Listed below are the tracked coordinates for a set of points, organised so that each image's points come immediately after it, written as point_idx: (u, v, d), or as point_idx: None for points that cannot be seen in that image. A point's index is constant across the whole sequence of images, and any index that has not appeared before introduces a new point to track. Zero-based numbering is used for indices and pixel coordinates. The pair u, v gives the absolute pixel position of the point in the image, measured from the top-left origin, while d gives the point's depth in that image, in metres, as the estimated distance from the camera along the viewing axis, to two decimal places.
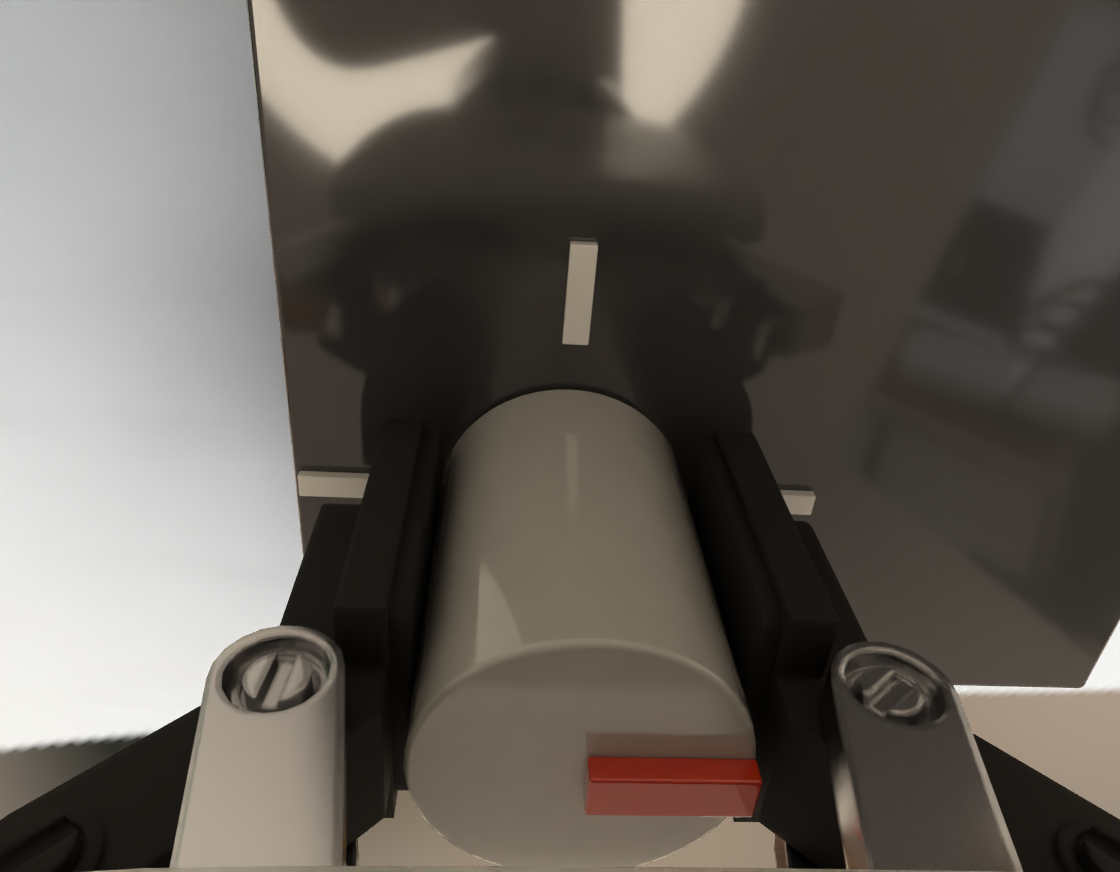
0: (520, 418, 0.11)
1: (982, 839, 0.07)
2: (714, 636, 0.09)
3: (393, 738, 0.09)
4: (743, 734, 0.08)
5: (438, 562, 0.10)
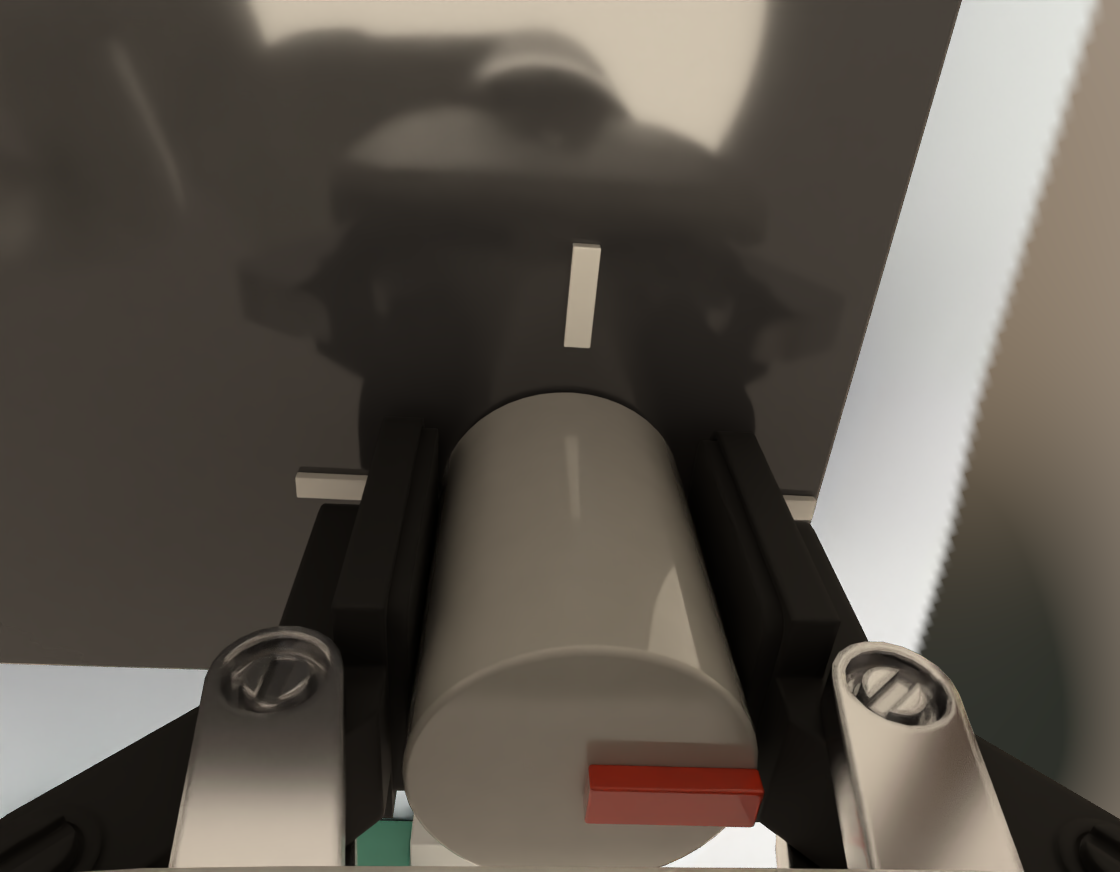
0: (522, 421, 0.11)
1: (983, 839, 0.07)
2: (717, 644, 0.09)
3: (392, 738, 0.09)
4: (745, 743, 0.08)
5: (438, 565, 0.10)
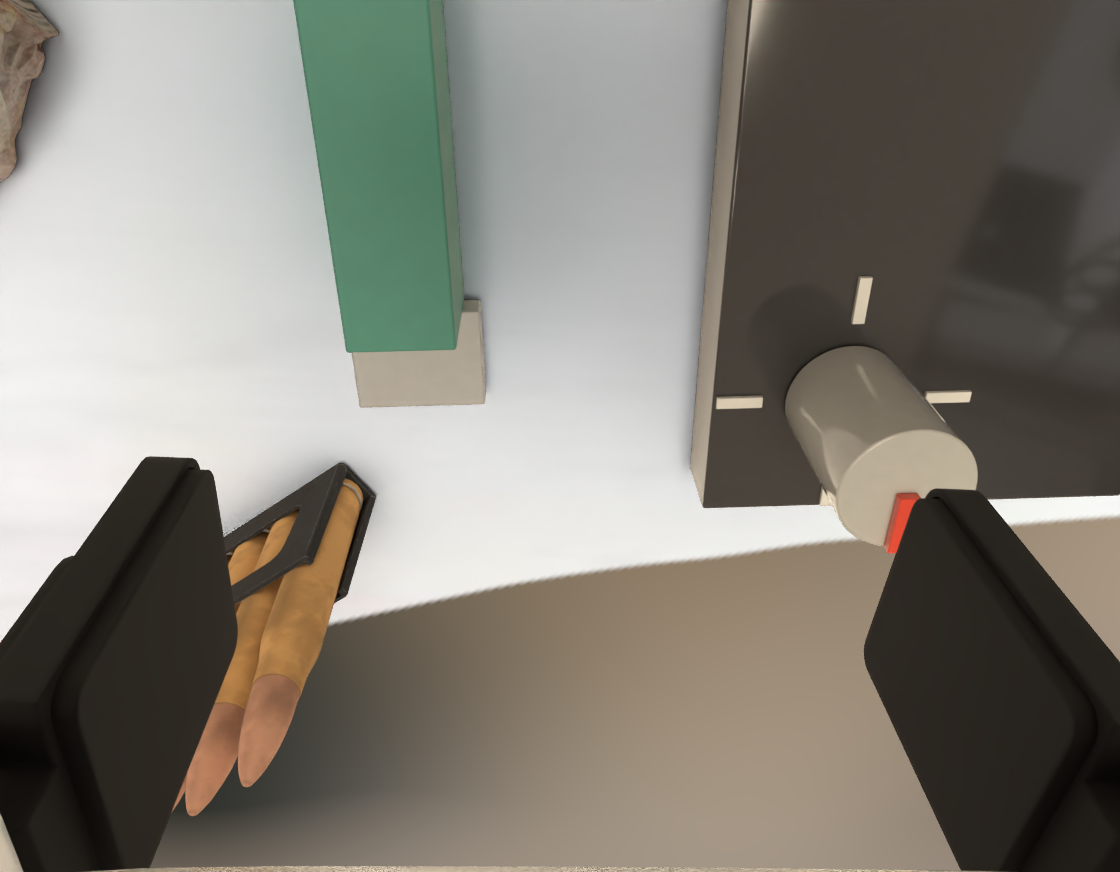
0: None
1: None
2: None
3: (93, 839, 0.08)
4: None
5: (913, 391, 0.23)
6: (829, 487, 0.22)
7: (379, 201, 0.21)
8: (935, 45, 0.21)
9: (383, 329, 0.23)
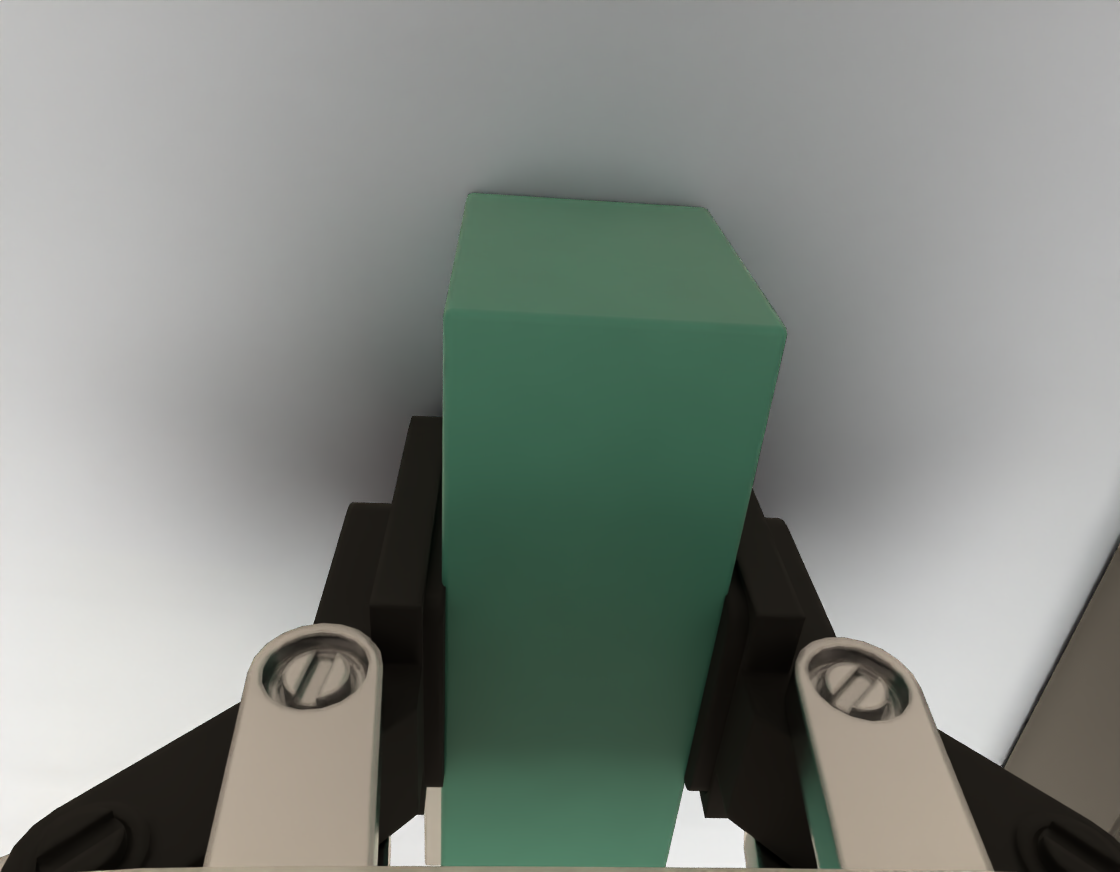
0: None
1: (949, 832, 0.07)
2: None
3: (425, 735, 0.09)
4: None
5: None
6: None
7: (562, 715, 0.10)
8: None
9: None
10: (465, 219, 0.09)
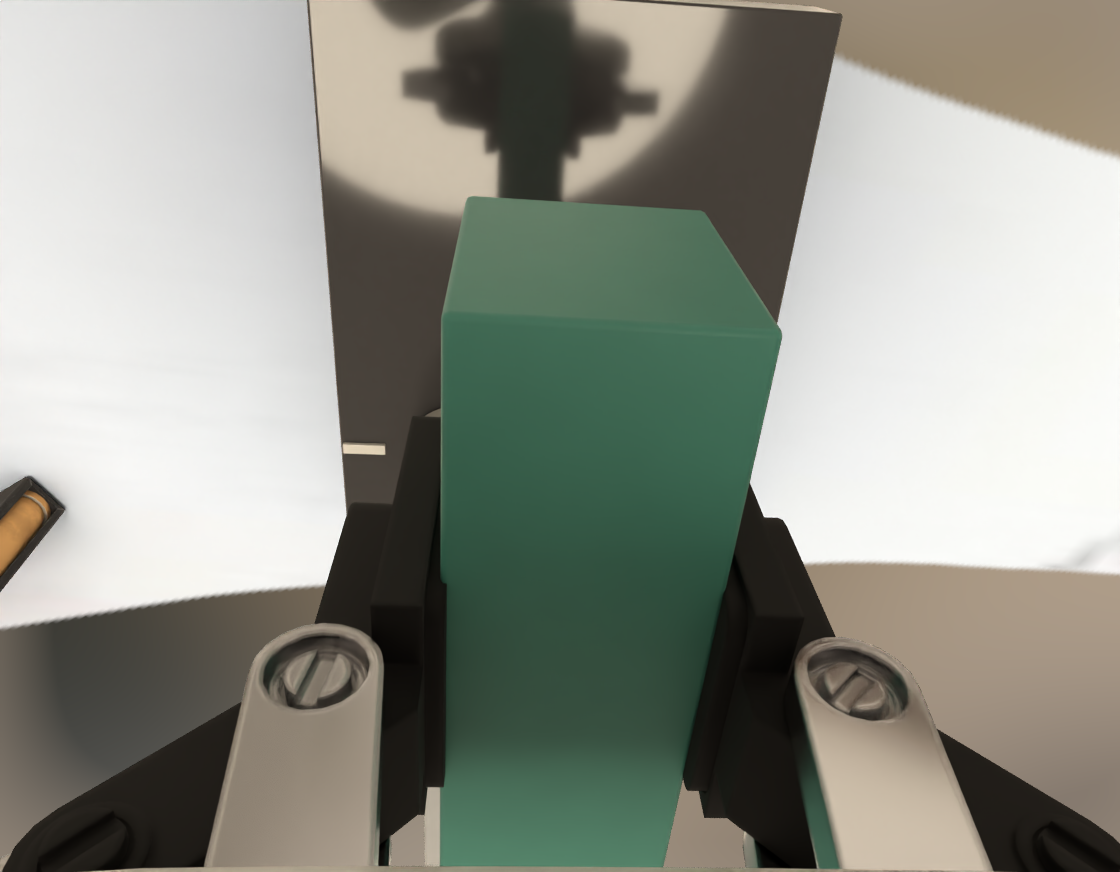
0: None
1: (949, 832, 0.07)
2: None
3: (426, 735, 0.09)
4: None
5: None
6: None
7: (560, 715, 0.10)
8: (488, 155, 0.24)
9: None
10: (464, 222, 0.09)
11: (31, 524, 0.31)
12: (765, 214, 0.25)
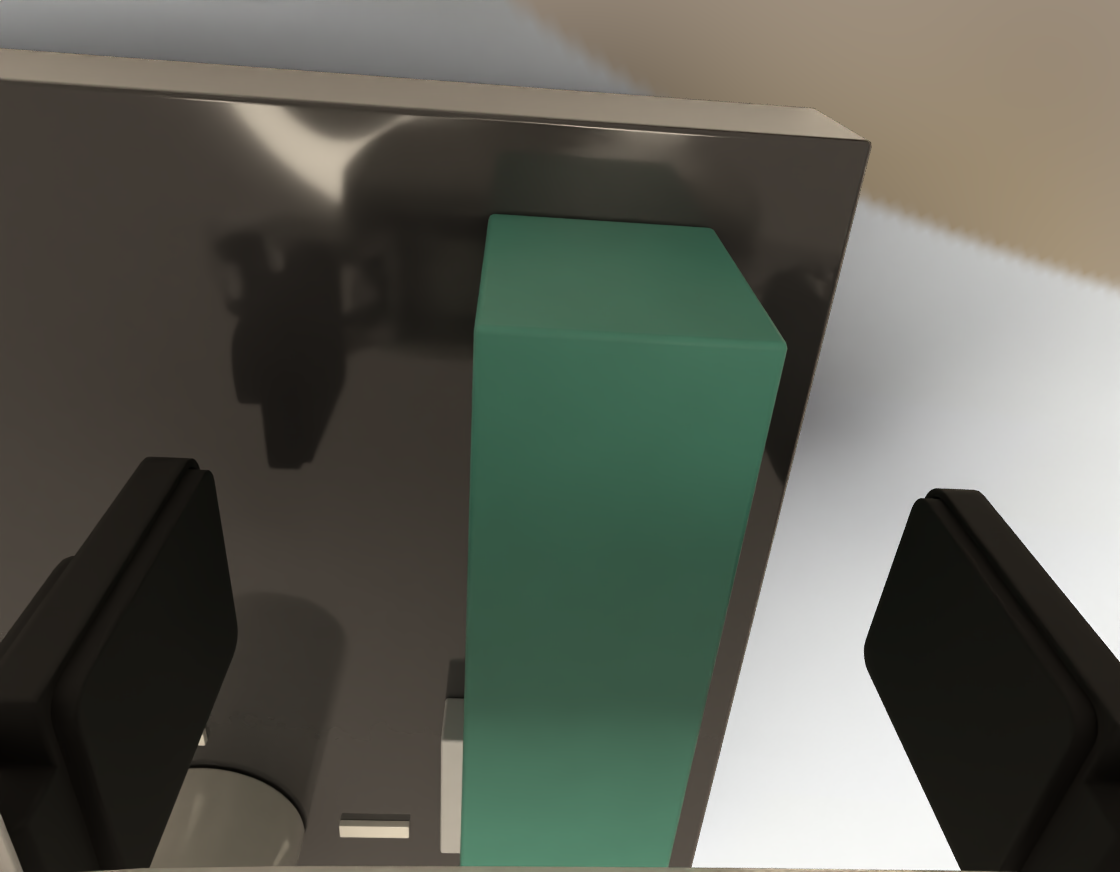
0: (287, 836, 0.16)
1: None
2: None
3: (94, 839, 0.08)
4: None
5: None
6: None
7: (577, 702, 0.10)
8: (178, 394, 0.12)
9: None
10: (489, 240, 0.10)
11: None
12: None
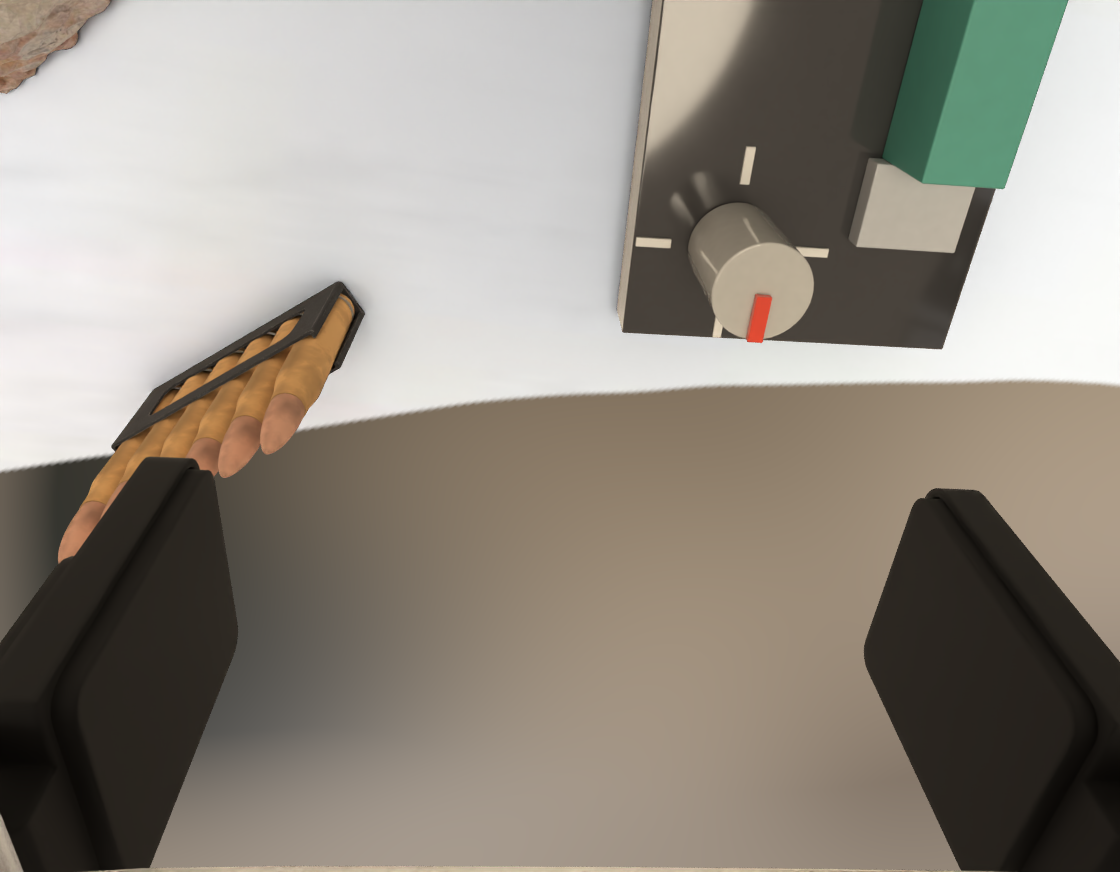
0: None
1: None
2: None
3: (93, 839, 0.08)
4: (770, 335, 0.31)
5: (776, 228, 0.31)
6: (708, 289, 0.30)
7: (1000, 56, 0.27)
8: None
9: (958, 165, 0.29)
10: None
11: (348, 318, 0.36)
12: None
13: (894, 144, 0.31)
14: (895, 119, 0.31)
